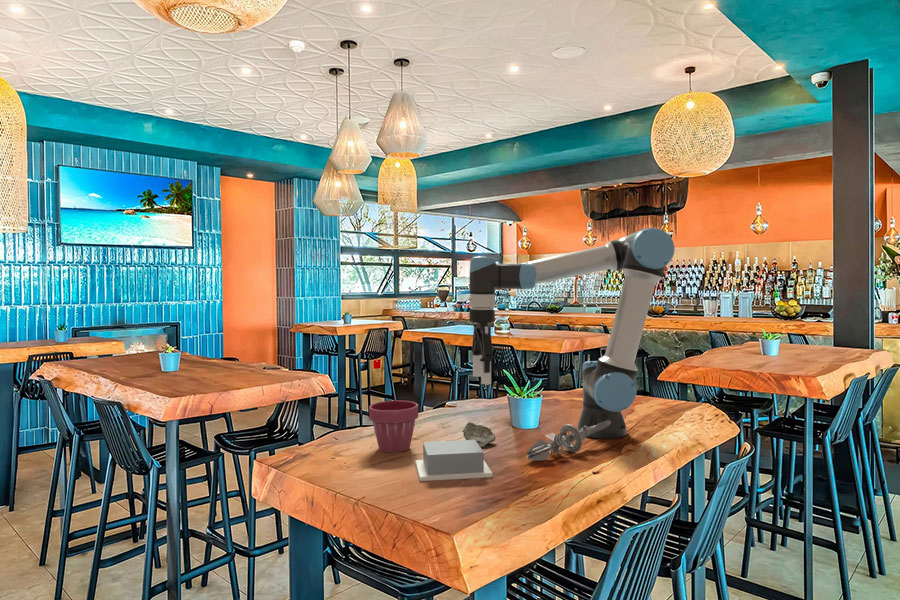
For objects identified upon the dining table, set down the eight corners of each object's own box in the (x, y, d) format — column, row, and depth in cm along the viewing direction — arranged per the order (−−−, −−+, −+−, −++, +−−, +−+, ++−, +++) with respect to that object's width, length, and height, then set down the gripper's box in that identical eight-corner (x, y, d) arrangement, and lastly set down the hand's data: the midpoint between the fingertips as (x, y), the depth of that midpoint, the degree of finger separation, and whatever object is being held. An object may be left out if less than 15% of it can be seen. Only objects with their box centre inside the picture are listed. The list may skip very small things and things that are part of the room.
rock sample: (460, 436, 169) (471, 411, 175) (454, 448, 175) (464, 424, 181) (494, 452, 168) (503, 427, 174) (486, 464, 174) (496, 439, 180)
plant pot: (376, 457, 163) (376, 411, 162) (364, 445, 176) (364, 402, 175) (425, 451, 168) (424, 407, 168) (410, 439, 181) (409, 398, 181)
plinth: (481, 460, 159) (481, 438, 159) (492, 477, 145) (492, 452, 145) (415, 463, 157) (415, 441, 156) (419, 481, 143) (419, 456, 143)
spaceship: (624, 418, 172) (603, 404, 178) (540, 452, 151) (520, 435, 157) (617, 440, 175) (596, 426, 181) (534, 476, 154) (514, 459, 160)
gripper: (462, 307, 186) (462, 373, 186) (477, 310, 161) (476, 387, 162) (486, 307, 187) (485, 373, 187) (504, 310, 162) (503, 387, 163)
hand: (481, 380), depth 175 cm, fingers open, 13 cm apart
